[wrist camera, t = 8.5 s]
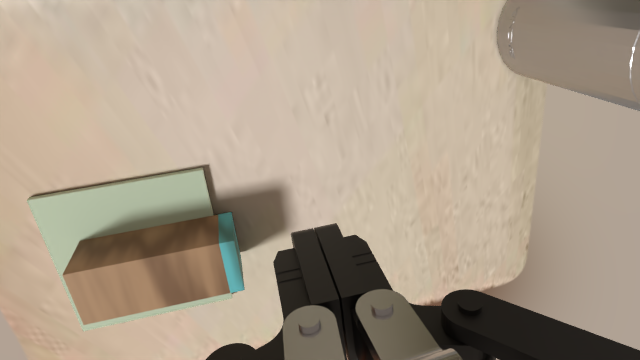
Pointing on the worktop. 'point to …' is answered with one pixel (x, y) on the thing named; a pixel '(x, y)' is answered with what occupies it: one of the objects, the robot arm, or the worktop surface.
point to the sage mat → (120, 219)
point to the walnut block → (154, 268)
